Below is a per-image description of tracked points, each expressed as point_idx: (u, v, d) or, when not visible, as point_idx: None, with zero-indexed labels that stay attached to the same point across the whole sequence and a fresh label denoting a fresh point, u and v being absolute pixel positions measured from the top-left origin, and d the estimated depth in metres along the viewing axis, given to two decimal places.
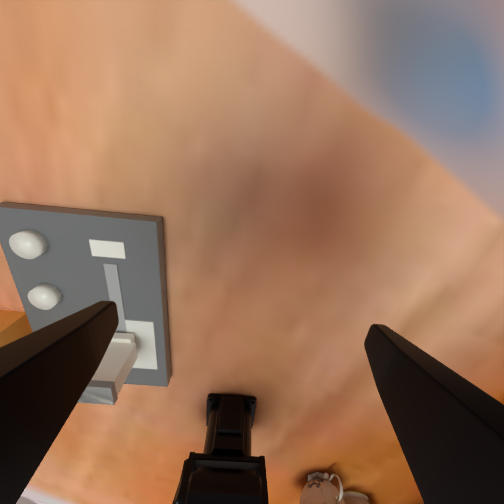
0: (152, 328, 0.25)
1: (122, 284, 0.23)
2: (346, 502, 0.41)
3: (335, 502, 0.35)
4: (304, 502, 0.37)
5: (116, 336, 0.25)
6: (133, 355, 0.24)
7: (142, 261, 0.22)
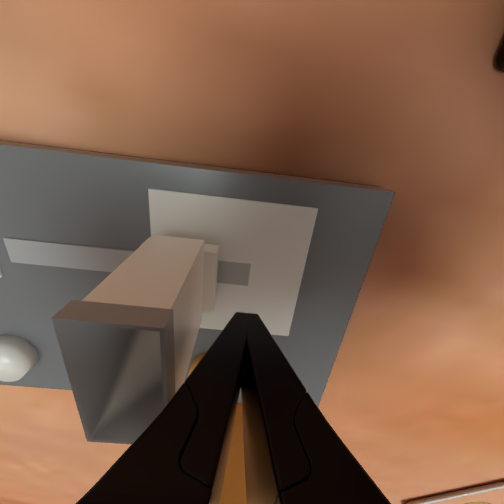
0: (170, 194, 0.10)
1: (55, 237, 0.11)
2: None
3: None
4: None
5: None
6: (169, 244, 0.09)
7: None
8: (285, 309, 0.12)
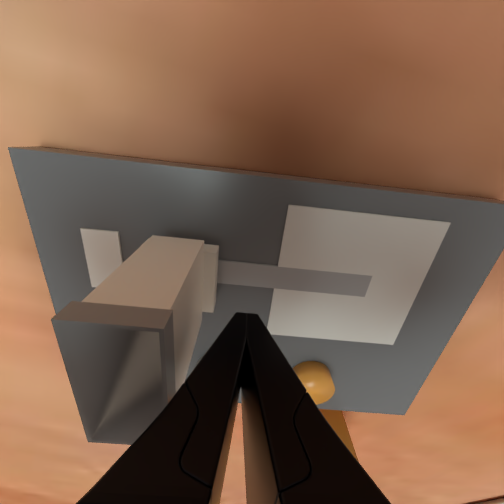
0: (308, 210, 0.10)
1: None
2: None
3: None
4: None
5: None
6: (169, 244, 0.09)
7: (119, 198, 0.10)
8: (396, 319, 0.12)
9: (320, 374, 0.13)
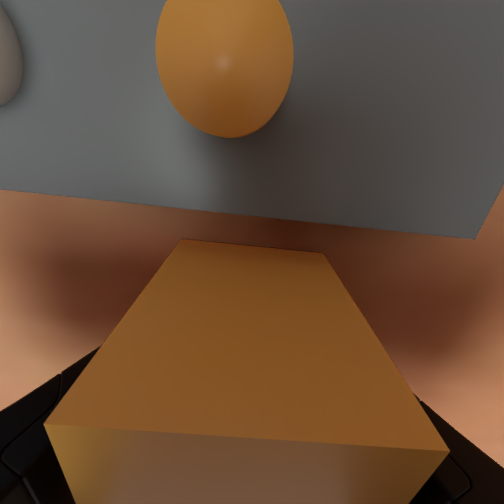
0: None
1: None
2: None
3: None
4: None
5: None
6: None
7: None
8: None
9: None
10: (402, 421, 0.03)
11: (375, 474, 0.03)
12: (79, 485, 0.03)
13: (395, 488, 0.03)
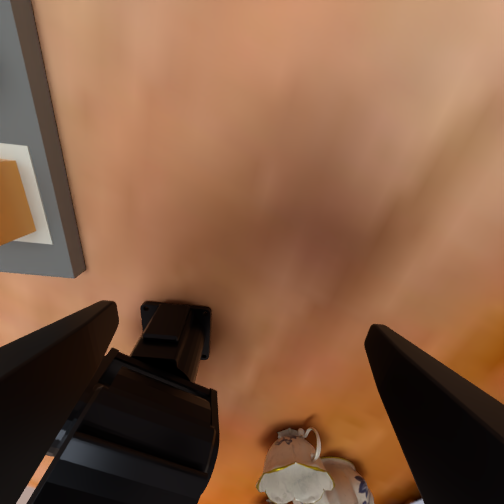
0: (28, 160, 0.16)
1: None
2: (326, 469, 0.32)
3: (310, 461, 0.26)
4: (269, 462, 0.27)
5: None
6: None
7: None
8: None
9: None
10: None
11: None
12: None
13: None
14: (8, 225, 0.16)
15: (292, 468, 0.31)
